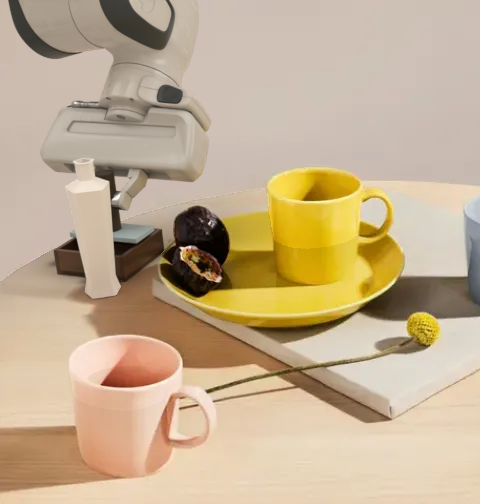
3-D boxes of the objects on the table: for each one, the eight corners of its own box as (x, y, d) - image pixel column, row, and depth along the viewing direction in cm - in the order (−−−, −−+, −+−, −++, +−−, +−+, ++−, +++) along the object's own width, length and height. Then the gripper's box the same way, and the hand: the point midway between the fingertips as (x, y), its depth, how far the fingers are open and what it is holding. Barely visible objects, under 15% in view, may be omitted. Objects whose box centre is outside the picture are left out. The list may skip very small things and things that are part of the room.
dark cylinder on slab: (70, 237, 111) (60, 175, 108) (90, 224, 114) (80, 164, 112) (136, 243, 108) (128, 180, 105) (154, 230, 112) (147, 169, 109)
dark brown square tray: (57, 274, 109) (52, 250, 108) (99, 245, 117) (96, 222, 116) (125, 281, 107) (122, 257, 106) (164, 251, 115) (162, 228, 113)
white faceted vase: (72, 298, 103) (50, 166, 97) (95, 281, 107) (75, 154, 101) (109, 302, 102) (89, 169, 96) (131, 286, 106) (113, 156, 100)
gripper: (50, 86, 114) (13, 188, 110) (203, 93, 109) (172, 201, 104) (76, 113, 120) (43, 211, 115) (224, 121, 114) (195, 225, 110)
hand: (105, 207), depth 109 cm, fingers closed on dark cylinder on slab, 2 cm apart
